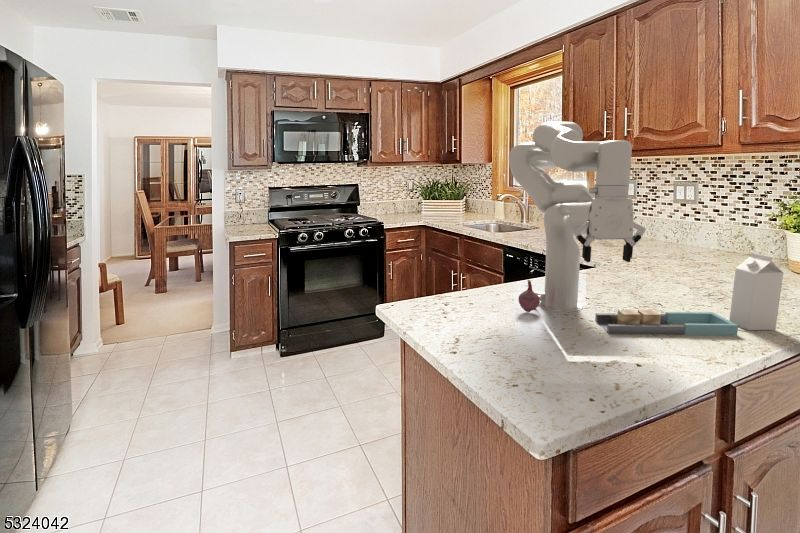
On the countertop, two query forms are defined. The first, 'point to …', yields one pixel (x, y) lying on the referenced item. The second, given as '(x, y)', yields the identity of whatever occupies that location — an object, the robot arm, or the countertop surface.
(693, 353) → the countertop surface
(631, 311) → the chip
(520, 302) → the vegetable
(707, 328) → the tray
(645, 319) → the chip
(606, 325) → the rail
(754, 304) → the milk carton
